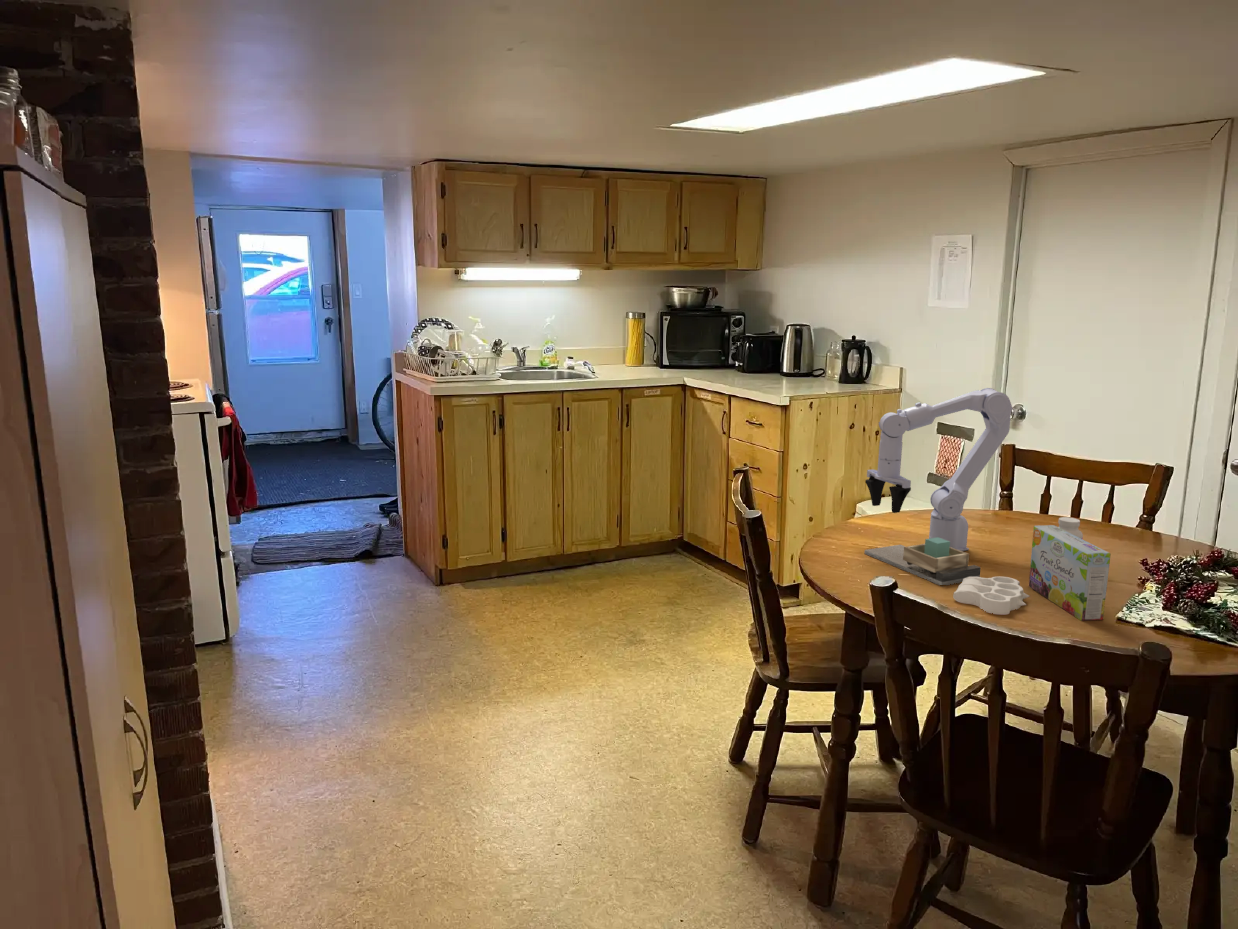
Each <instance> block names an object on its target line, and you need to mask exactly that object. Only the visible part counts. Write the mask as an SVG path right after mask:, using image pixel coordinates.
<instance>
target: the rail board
mask: <svg viewBox="0 0 1238 929" xmlns="http://www.w3.org/2000/svg"><path fill="white" fill-rule="evenodd" d="M904 547H906V546H905V545H902V544H895V545H889V546H882V547H875V548H869V549H864V555H866V556H869V557H870V558H871V557H872V558H874V559H877V560H879V561H881V562H884V563H886V564H888V565H890V566H893V567H895V568H897V569H901V570H902V571H904V572H907V573H909V572H910V574H912V575H914V576H916V575H917V576H916V577H919V578H921V579H923V578H924V580H926V579H927V580H926V581H928V582H931V583H933V584H935V585H937V586H940V585H946V586H950V584H951V585H956V583H957V584H961V583H960V582H962V581H963V579H964V578H967V577H981V570H982V569H981V566H978V565H977V564H972V565H968V566H965V567H959V568H953V569H948V570H942V571H936V574H930V571H929V570H927V569H924V568H922V567H919V566H917V565H914V564H912V565H908V564H907V561H905V560H903V553H904ZM954 583H955V584H954Z"/></svg>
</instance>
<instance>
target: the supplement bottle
mask: <svg viewBox="0 0 1238 929" xmlns="http://www.w3.org/2000/svg"><path fill="white" fill-rule="evenodd" d="M1057 523H1058V526H1057V527H1058V528H1060V529H1062V530H1065V531H1067V532H1069V533H1070V534H1073V535H1075V536H1077V537H1078V538H1080V539H1082V540H1084V538H1083V537H1084V534H1083V532H1082V531H1081V530H1079V527H1080V525H1081V520H1080V519H1078V518H1075V517H1069V516H1067V517H1066V516H1064V517H1061V516H1060V517H1059V518H1058V522H1057Z"/></svg>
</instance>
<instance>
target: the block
mask: <svg viewBox="0 0 1238 929" xmlns="http://www.w3.org/2000/svg"><path fill="white" fill-rule="evenodd" d="M924 544H925V550H924V554H927V555H929V556H932V557H935V558H939V557H945V556H949V548H950V541H947V540H944V539H941V538H938V537H936V538H930V539H929V538H925V541H924Z"/></svg>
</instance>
